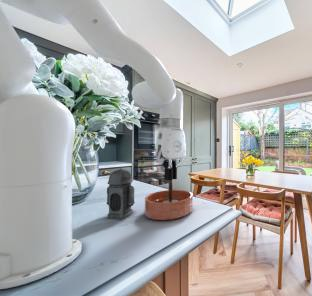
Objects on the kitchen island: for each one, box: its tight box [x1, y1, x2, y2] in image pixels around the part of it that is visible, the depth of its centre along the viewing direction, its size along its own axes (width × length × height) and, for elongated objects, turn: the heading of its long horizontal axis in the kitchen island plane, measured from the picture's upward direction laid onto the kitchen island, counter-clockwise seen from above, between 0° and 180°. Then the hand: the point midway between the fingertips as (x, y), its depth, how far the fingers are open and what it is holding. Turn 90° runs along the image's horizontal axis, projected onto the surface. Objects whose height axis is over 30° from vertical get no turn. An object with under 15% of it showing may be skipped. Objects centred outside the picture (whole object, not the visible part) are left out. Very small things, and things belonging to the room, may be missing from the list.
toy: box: [106, 168, 135, 220], centre depth 54 cm, size 8×6×15 cm
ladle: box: [162, 164, 178, 203], centre depth 57 cm, size 5×5×15 cm
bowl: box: [144, 189, 194, 221], centre depth 57 cm, size 15×15×6 cm
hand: (170, 179), depth 57 cm, fingers closed on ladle, 1 cm apart
